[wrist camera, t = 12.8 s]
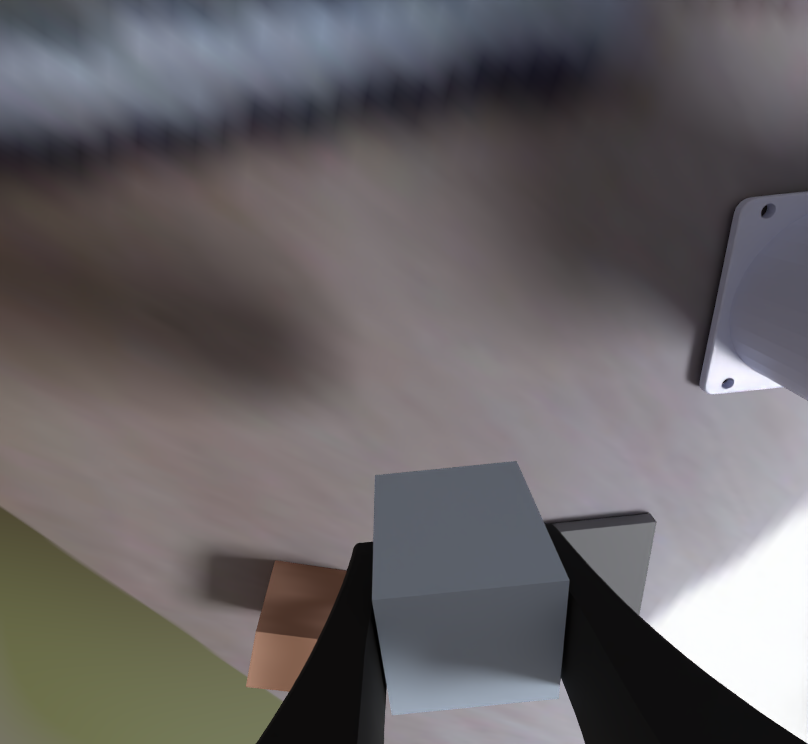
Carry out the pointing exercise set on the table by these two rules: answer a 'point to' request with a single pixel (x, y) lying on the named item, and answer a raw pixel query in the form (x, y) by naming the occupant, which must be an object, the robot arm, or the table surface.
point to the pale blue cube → (465, 590)
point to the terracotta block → (291, 622)
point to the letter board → (615, 551)
